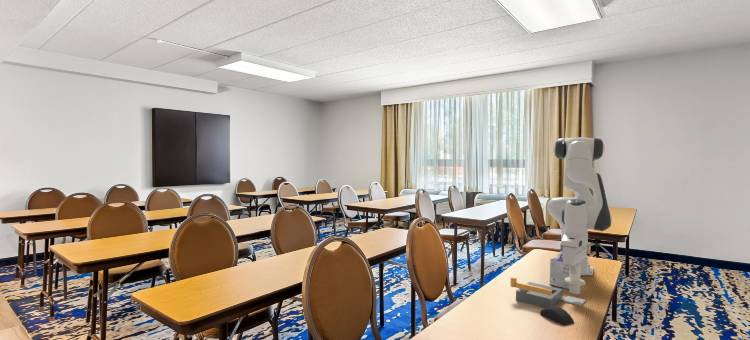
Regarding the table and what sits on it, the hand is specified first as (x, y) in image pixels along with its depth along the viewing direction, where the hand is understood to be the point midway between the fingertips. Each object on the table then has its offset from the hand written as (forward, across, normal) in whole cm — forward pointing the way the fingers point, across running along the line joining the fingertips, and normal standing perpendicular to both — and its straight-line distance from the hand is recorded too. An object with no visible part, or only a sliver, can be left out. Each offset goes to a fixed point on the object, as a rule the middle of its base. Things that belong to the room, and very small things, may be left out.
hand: (574, 272), depth 159 cm
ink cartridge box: (+13, -17, -10) cm, 23 cm away
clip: (+7, +14, -13) cm, 21 cm away
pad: (+12, 0, 0) cm, 12 cm away
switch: (+12, +7, -12) cm, 19 cm away
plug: (+9, 0, 0) cm, 9 cm away
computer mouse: (+13, +22, 0) cm, 26 cm away
